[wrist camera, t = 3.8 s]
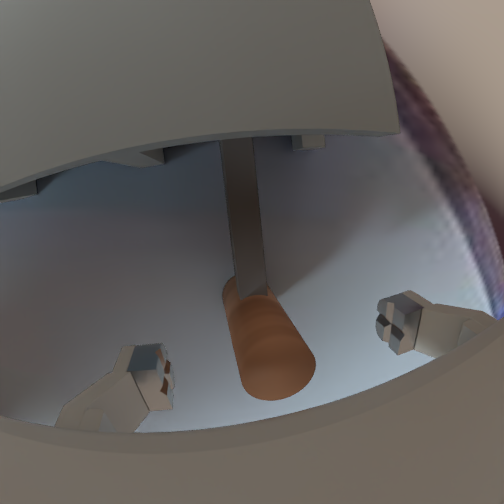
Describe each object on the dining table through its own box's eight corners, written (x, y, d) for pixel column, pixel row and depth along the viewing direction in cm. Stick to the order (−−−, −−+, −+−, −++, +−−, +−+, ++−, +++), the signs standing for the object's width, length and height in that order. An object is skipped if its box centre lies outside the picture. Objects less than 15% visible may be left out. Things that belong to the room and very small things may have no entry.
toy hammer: (290, 307, 16) (343, 381, 9) (204, 322, 15) (212, 411, 9) (264, 43, 12) (308, -31, 5) (172, 49, 11) (159, -32, 5)
